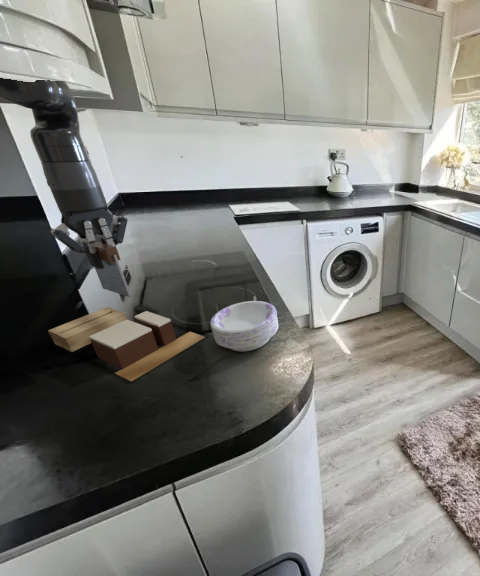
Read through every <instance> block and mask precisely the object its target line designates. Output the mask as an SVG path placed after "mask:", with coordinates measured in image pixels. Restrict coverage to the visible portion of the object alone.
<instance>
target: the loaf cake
mask: <svg viewBox="0 0 480 576" xmlns="http://www.w3.org/2000/svg"><path fill="white" fill-rule="evenodd" d="M89 338H90V340H91V343H90V344H91V345H92V347H93V350H94V352H95V353H96V356H97V358H98V359H100V360H102V361H104V362H106V363H109V364H111V365H113V366H115V367H117V368H119V369H120V370H121V369H124V368H126V367H128V366H130V365H131V364H133V363H135V362H137V361H139V360H140V359H142V358H144V357H146V356H148V355H149V354H151V353H153V352H155V351H157V350H158V349H159V346H158V343H157V342H156V341H155V338H154V335H153V332H152V329H151V328H149V327H146V326H143V325H140V324H138V323H136V321H132V320H129V319H127V320H125V321H123V322H120V323H118V324H116V325H114V326H111V327H109V328H107V329H104V330H102V331H100V332H98V333H95V334H93V335H91V336H89Z"/></svg>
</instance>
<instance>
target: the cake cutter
mask: <svg viewBox="0 0 480 576" xmlns="http://www.w3.org/2000/svg"><path fill="white" fill-rule="evenodd" d="M80 245H82V243H81V242H80ZM95 246H96V249H97V252H98V253H99V256H100V258H101V260H102V263H103V265H104V268H103V269H97V268H95V267H93V268H94V270H95V273H96V275H97V277H98V281H99V282H100V285H101V287H102V289H103V290H106V291H109V292H113V293H115V294H119V295H122V296H125V297H127V298H132V295H131V292H130V289H129V287H128V284H127V281H126V278H125V276H124V273H123V270H122V268H121V265H120V261H121V256H120V254H119V251H118V248H117V245H116V246H112V245H107V244H103V243H101V242H98V241H95ZM84 254H85V256H86V257H87V254H86V253H84Z"/></svg>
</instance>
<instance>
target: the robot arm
mask: <svg viewBox="0 0 480 576" xmlns="http://www.w3.org/2000/svg"><path fill="white" fill-rule="evenodd" d="M0 98H1V99H3V100H5V101H8V102H9V103H13V104H15V105H17V106H19V107H23V108H26V109H30V110H31V113H32V115H33V120H34V123H35V125H34V126H33V127H32V128H31V129H30V131H29V134H30V139H31V141H32V144H33V146H34V149H35V151H36V154H37V156H38V159H39V162H40V164H41V166H42V171H43V175H44V177H45V180H46V184H47V186H48V187H49V190H50V192H51V195H52V197H53V199H54V201H55V203H56V206H57V208H58V210H59V212H60V214H61V218H60V224H59V225H58V226H56V227H55V228H50V229H48V233H49V235H51V236H52V237H53V238H55V239H56V240H58V241H59V242H61V243H62V244H63V245H64V246H66V248H69V249H70V250H71V251H72V252H76V253H79V254H85V253H86V254H87V256H86V257H87V260H88V262H89V264H90V266H91V267H92V268H94V267H95V268H97V269H103V268H104V265H103V263H102V260H101V258H100V256H99V253H98V252H97V249H96V246H95V242H96V238H95V236H96V237H97V238H98V239H99V241H100V243H103V244H107V245H112V246H116V247H117V246H118V245H121V244H122V243H123V242H124V238H125V234H126V230H127V226H128V221H129V220H128V218H127V217H125V216H121V215H114V214H113V213H112V211H111V210H109V208H108V203H107V200H106V197H105V195H104V192H103V189H102V186H101V183H100V181H99V178H98V175H97V172H96V170H95V168H94V166H93V164H92V163H91V160H90V157H89V154H88V152H87V149H86V146H85V144H84V141H83V139H82V135H81V129H80V127H81V126H80V119H79V113H78V107H77V102H76V99H75V97H74V95H73V92H72V90H71V88H70V86H69V85H68V83H67V81H65V80H64V81H50V80H36V81H35V82H23V81H17V80H11V79H3V78H0ZM111 224H112V225H113V226H112V229H111V231H110V229H109V228H110V226H111ZM69 230H70V231H72V232H73V233H75V234H77V237H78V241H80V243H79V242H77V241H76V240H75V239H73V238H72V237H71V236H70V235H71V232H70V231H69ZM81 243H82V244H81ZM86 254H85V255H86ZM95 268H94V269H95Z"/></svg>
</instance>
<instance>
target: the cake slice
mask: <svg viewBox="0 0 480 576" xmlns="http://www.w3.org/2000/svg"><path fill="white" fill-rule="evenodd" d="M133 317H134V320H135V323H138V324H140V325H143V326H146V327H149V328H151V329H152V332H153V335H154V338H155V341H156V344H159V345H163V346H164V345H165V346H166V345H167V344H169V343H171V342H173V341H175V340H176V339H177V337H176V333H175V331H174V327H173V323H172V321H171V318H169V317H165V316H162V315H160V314H157V313H154V312H151V311H148V310H146V311H143V312H141V313H139V314H136V315H134V316H133Z"/></svg>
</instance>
